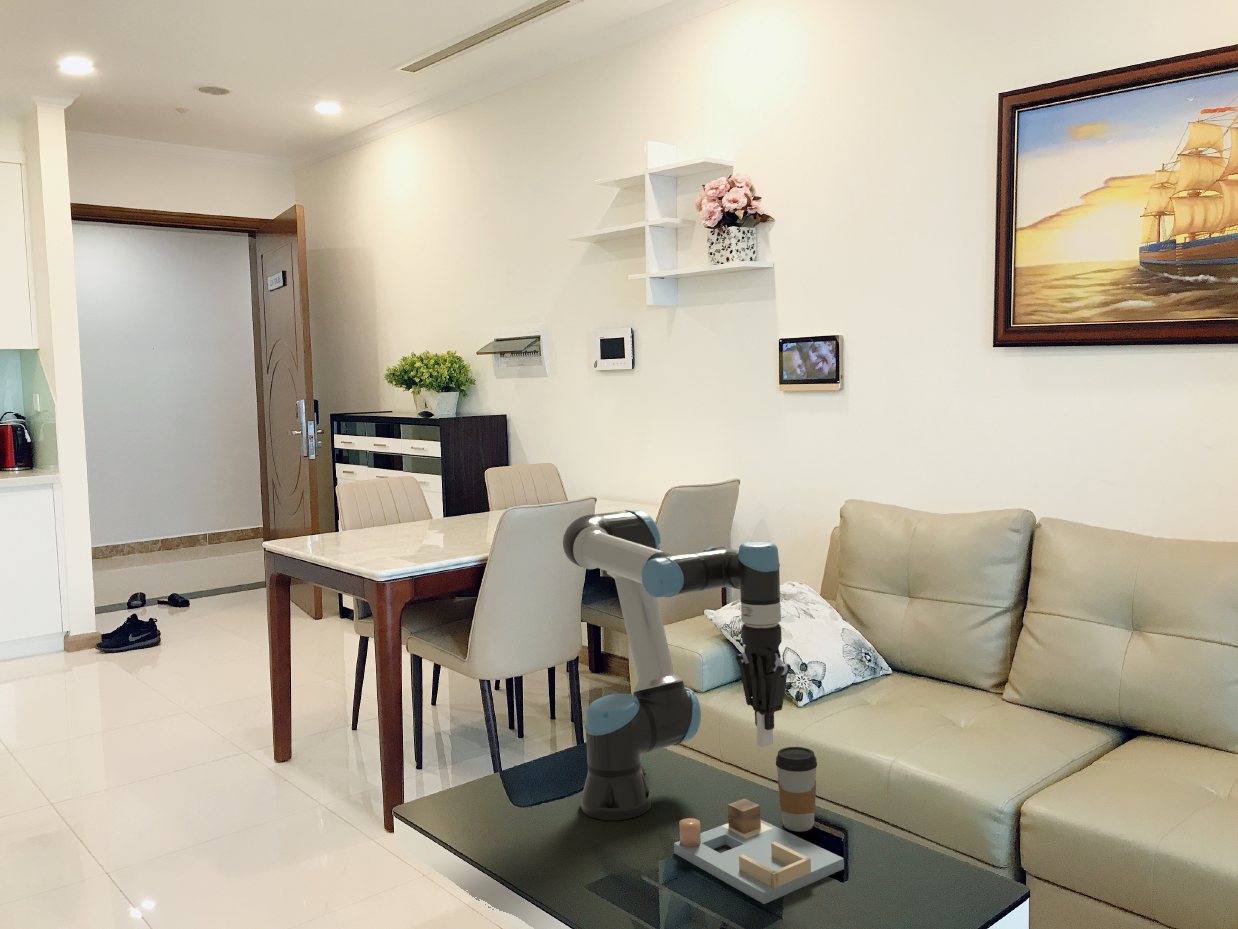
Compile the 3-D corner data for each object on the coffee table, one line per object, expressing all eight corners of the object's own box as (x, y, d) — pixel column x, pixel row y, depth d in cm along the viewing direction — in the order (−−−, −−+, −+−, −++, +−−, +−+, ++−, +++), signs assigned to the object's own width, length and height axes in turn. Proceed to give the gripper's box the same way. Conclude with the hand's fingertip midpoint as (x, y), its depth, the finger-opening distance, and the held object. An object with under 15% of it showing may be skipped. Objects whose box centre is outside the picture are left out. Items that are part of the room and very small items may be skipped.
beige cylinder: (675, 842, 186) (675, 822, 186) (691, 836, 189) (691, 816, 189) (688, 849, 183) (688, 829, 183) (705, 843, 185) (704, 823, 185)
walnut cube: (728, 826, 193) (727, 804, 192) (745, 820, 195) (744, 798, 195) (743, 834, 189) (743, 811, 189) (760, 827, 191) (760, 805, 191)
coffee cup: (819, 835, 191) (817, 761, 191) (776, 833, 193) (774, 759, 192) (819, 817, 200) (816, 746, 199) (778, 815, 201) (776, 745, 200)
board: (674, 853, 186) (673, 830, 186) (751, 824, 198) (750, 802, 197) (764, 904, 166) (763, 878, 166) (844, 869, 177) (843, 845, 177)
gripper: (723, 621, 188) (728, 740, 189) (770, 632, 177) (775, 758, 178) (752, 615, 192) (756, 731, 193) (799, 625, 181) (803, 749, 183)
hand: (765, 744), depth 186 cm, fingers closed
